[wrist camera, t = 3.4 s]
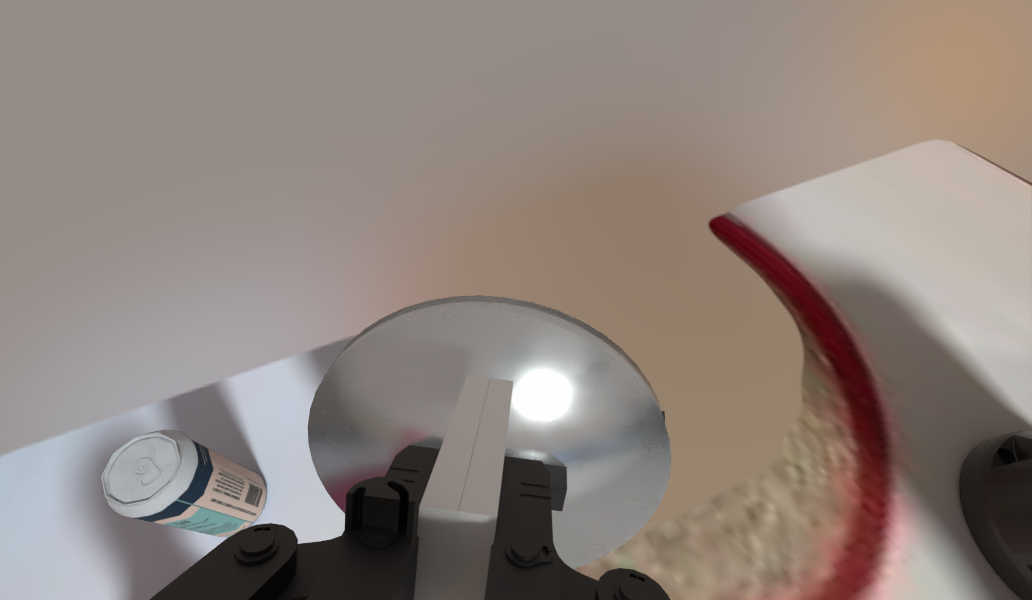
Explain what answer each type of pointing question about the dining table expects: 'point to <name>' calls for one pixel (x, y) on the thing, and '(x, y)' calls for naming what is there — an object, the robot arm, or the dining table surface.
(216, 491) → the beer can
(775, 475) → the dining table surface
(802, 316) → the dining table surface
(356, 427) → the pot lid
